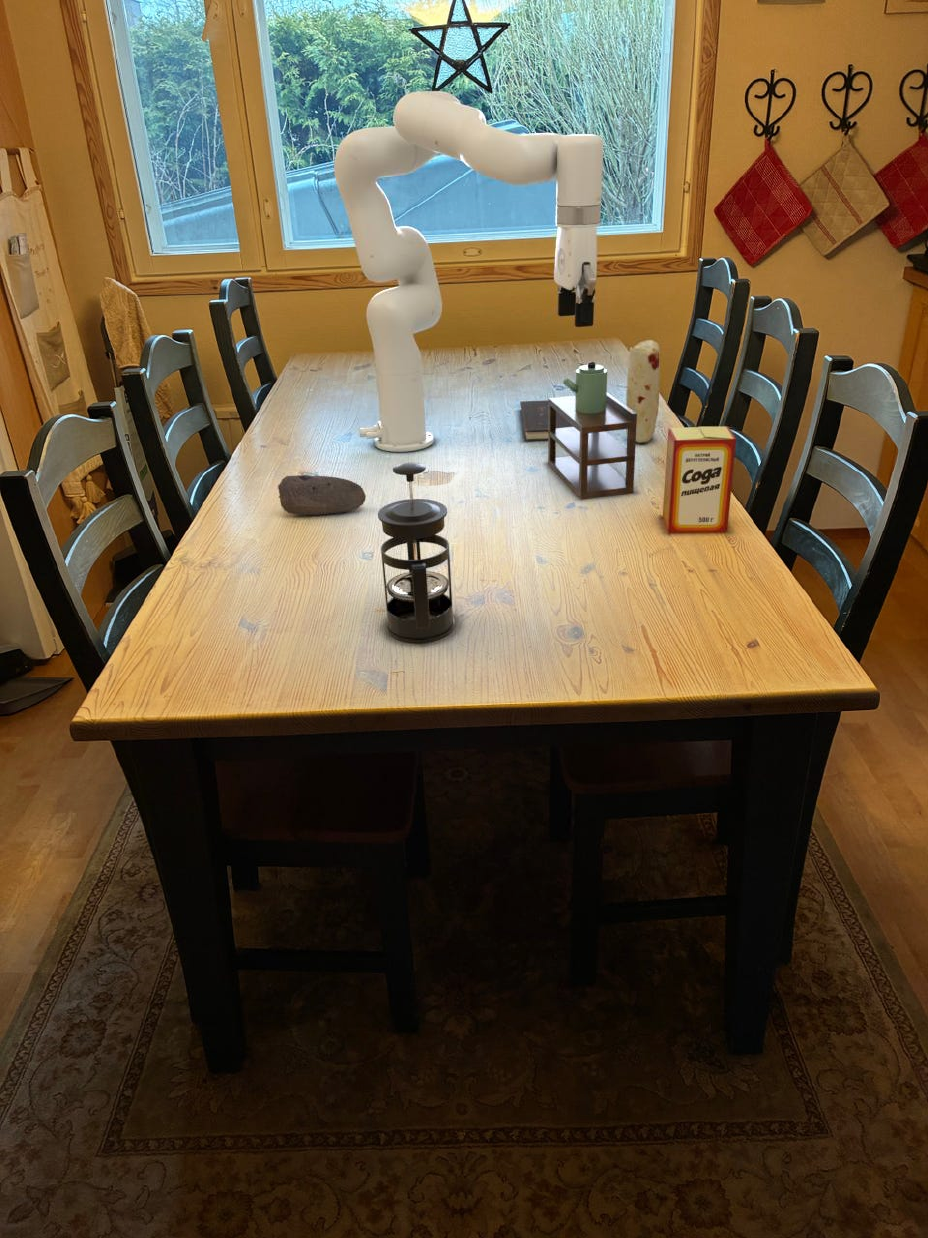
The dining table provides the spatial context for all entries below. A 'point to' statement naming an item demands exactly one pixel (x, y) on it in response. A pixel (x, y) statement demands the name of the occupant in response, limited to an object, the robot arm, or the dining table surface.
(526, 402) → the hardcover book
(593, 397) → the kettle
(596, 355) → the dining table surface
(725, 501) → the baking soda box
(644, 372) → the food model
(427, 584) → the french press
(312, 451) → the dining table surface
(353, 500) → the perforated stone tool
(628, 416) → the stand
